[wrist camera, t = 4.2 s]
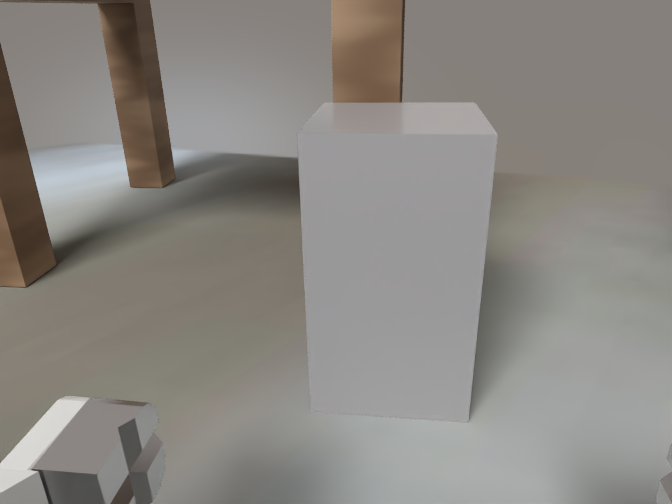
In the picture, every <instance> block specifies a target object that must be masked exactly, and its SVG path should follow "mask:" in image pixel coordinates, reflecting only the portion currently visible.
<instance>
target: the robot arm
mask: <svg viewBox="0 0 672 504" xmlns="http://www.w3.org/2000/svg"><path fill="white" fill-rule="evenodd" d="M158 423H159V419H158V415H157V411H156V407H155V406H154V405H152V404H150V403H146V402H135V401H124V400H113V399H102V398H85V397H74V396H66V397H63V398H61V399H58V400H57V401H56V402H55V403H54V405H53V406H52V407H51V408H50V409H49V410H48V411H47V412H46V413H45V414H44V416H43V417H42V418H41V419H40V420H39V421H38V422H37V423H36V424H35V426H34V427H33V428H32V429H31V430H30V431H29V432H28V433H27V434H26V435H25V437H24V438H23V439H22V440H21V441H20V442H19V443H18V444H17V445H16V447H15V448H14V449H13V450H12V451H11V452H10V453H9V454H8V455H7V456H6V458H5V459H4V460H3V461H2V462H1V463H0V504H151V503H152V502H153V501H154V499H155V497H156V495H157V493H158V491H159V488H160V486H161V482H162V478H163V474H164V470H165V450H164V445H163V442H162V441H161V440H160V439H159V438H158V437H157V436H156V435H155V434H154V433H153V432H154V430H155V428H156V427H157V425H158ZM667 460H668V462H669V463H670V465H671V467H672V444H671V446H670V449H669V452H668V455H667ZM656 504H672V472H671V473H670V474H668V475H667V476H665V477H664V478H663V479H661V480H660V482H659V486H658V490H657V494H656Z"/></svg>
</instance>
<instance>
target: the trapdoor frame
mask: <svg viewBox="0 0 672 504" xmlns="http://www.w3.org/2000/svg"><path fill="white" fill-rule="evenodd" d="M0 2H37V3H42V2H43V3H97V4H98V9H99V15H100V20H101V26H102V32H103V37H104V43H105V48H106V53H107V59H108V65H109V70H110V76H111V81H112V87H113V92H114V98H115V104H116V109H117V115H118V120H119V126H120V131H121V137H122V142H123V148H124V153H125V159H126V165H127V170H128V176H129V181H130V187H158V188H163V187H164V186H165V185H167V184H168V183H169V182H171V181H172V180H174V179H175V171H174V164H173V157H172V151H171V144H170V137H169V130H168V123H167V116H166V109H165V103H164V95H163V88H162V81H161V75H160V67H159V61H158V55H157V48H156V40H155V34H154V26H153V19H152V12H151V5H150V0H0ZM331 14H332V15H331V18H332V66H333V67H332V68H333V103H402V84H403V83H402V82H403V50H404V17H405V0H331ZM55 265H56V261H55V257H54V253H53V249H52V245H51V241H50V237H49V233H48V229H47V225H46V221H45V217H44V213H43V209H42V206H41V202H40V198H39V194H38V190H37V186H36V182H35V178H34V174H33V170H32V166H31V162H30V158H29V154H28V150H27V147H26V143H25V139H24V135H23V131H22V127H21V123H20V119H19V115H18V111H17V107H16V103H15V99H14V95H13V91H12V88H11V83H10V80H9V76H8V72H7V68H6V64H5V60H4V56H3V52H2V48H1V44H0V286H11V287H27V286H28V285H29V284H31V283H32V282H34V281H35V280H36V279H38V278H39V277H40V276H42V275H43V274H44V273H46V272H47V271H49V270H50V269H51V268H53V267H54V266H55Z"/></svg>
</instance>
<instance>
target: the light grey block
mask: <svg viewBox="0 0 672 504" xmlns="http://www.w3.org/2000/svg"><path fill="white" fill-rule="evenodd" d="M497 136H498V134H497V133H496V131H495V130H494V129H493V127H492V126H491V124H490V123H489V122H488V120H487V119H486V118H485V116H484V115H483V113H482V112H481V110H480V109H479V108H478V106H477V105H476V103H324V104H323V105H322V106H321V107H320V108H319V109H318V111H317V112H316V113H315V114H314V115H313V116H312V117H311V118H310V119H309V121H308V122H307V123H306V124H305V125H304V126H303V127H302V128H301V129H300V131H299V132H298V133H297V140H298V141H297V142H298V163H299V184H300V204H301V225H302V245H303V266H304V287H305V307H306V328H307V348H308V369H309V389H310V410H311V412H320V413H335V414H349V415H364V416H379V417H394V418H409V419H424V420H439V421H454V422H468V420H469V411H470V401H471V391H472V381H473V371H474V362H475V352H476V342H477V332H478V322H479V313H480V303H481V293H482V283H483V274H484V264H485V254H486V244H487V234H488V225H489V215H490V205H491V195H492V185H493V176H494V166H495V156H496V146H497Z"/></svg>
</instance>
